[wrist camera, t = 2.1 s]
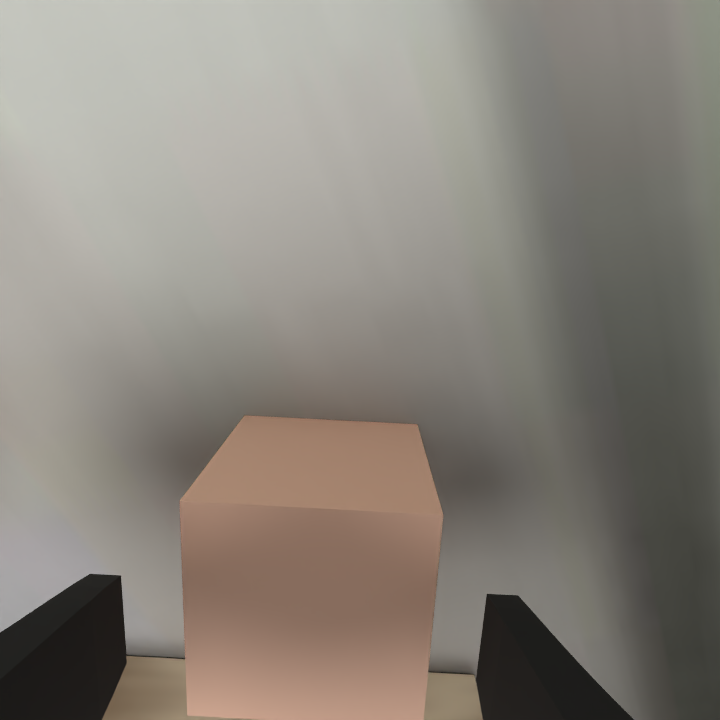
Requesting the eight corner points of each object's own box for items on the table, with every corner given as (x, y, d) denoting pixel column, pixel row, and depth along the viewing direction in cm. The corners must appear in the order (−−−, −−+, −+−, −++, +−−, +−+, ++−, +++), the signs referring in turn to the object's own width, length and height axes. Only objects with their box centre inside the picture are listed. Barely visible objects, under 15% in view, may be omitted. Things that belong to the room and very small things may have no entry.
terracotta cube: (417, 423, 14) (443, 515, 9) (405, 574, 15) (422, 728, 10) (245, 414, 14) (179, 501, 9) (245, 565, 15) (186, 715, 10)
